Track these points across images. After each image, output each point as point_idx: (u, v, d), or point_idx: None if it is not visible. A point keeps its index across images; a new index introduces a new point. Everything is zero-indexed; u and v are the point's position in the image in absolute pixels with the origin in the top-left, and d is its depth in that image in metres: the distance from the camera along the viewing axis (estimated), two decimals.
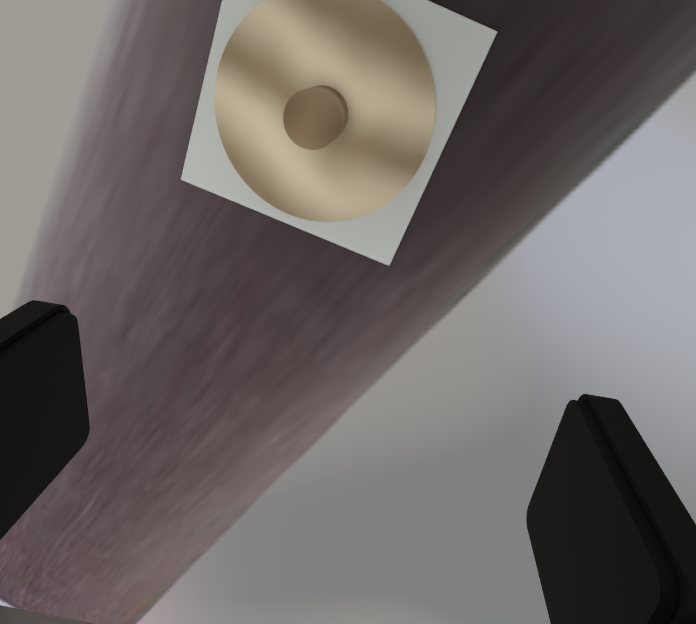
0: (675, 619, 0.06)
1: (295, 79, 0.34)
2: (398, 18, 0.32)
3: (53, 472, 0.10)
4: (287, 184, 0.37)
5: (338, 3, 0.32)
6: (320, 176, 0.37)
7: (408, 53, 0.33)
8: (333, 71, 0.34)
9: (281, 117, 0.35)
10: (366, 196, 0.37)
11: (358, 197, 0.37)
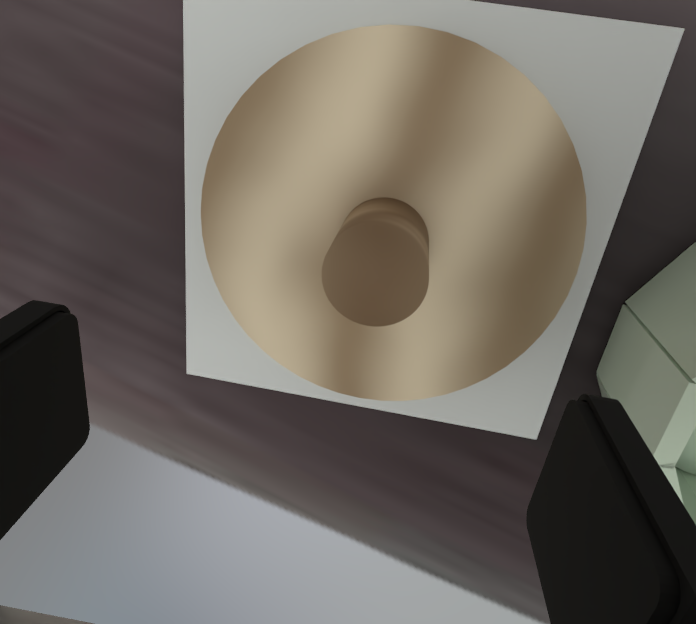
0: (675, 619, 0.06)
1: (428, 185, 0.19)
2: (543, 328, 0.21)
3: (53, 472, 0.10)
4: (251, 202, 0.20)
5: (556, 237, 0.19)
6: (283, 256, 0.21)
7: (496, 350, 0.22)
8: (454, 248, 0.20)
9: (360, 171, 0.19)
10: (276, 332, 0.23)
11: (270, 320, 0.23)
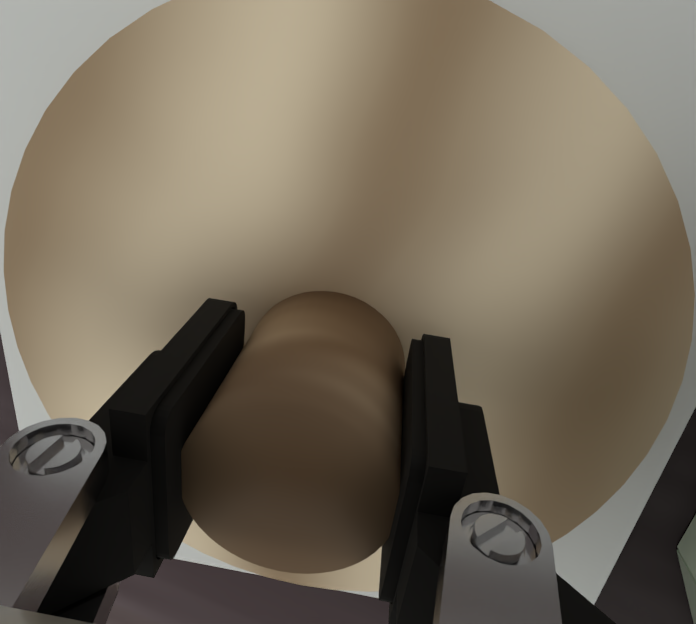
0: (421, 489, 0.07)
1: (402, 272, 0.10)
2: (601, 499, 0.12)
3: None
4: (91, 296, 0.12)
5: (634, 361, 0.11)
6: None
7: None
8: None
9: (277, 245, 0.11)
10: None
11: None
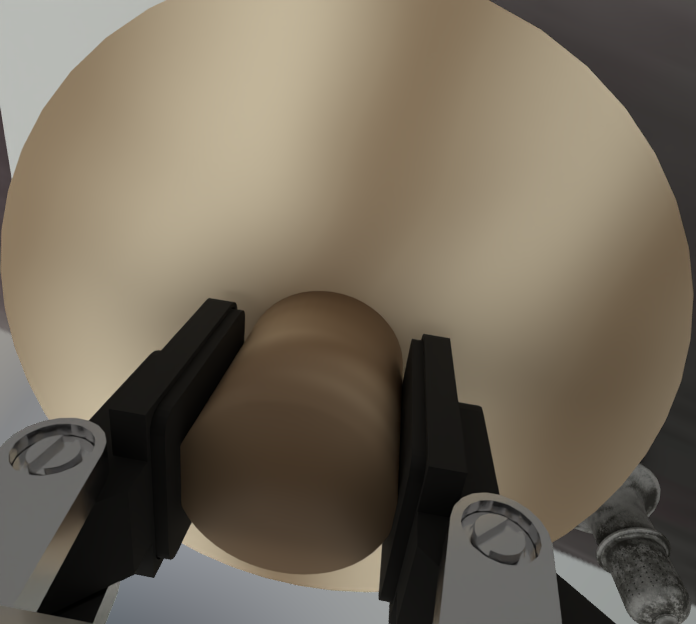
0: (421, 489, 0.07)
1: (400, 272, 0.10)
2: (600, 500, 0.12)
3: None
4: (88, 296, 0.12)
5: (633, 361, 0.11)
6: None
7: None
8: None
9: (275, 245, 0.11)
10: None
11: None
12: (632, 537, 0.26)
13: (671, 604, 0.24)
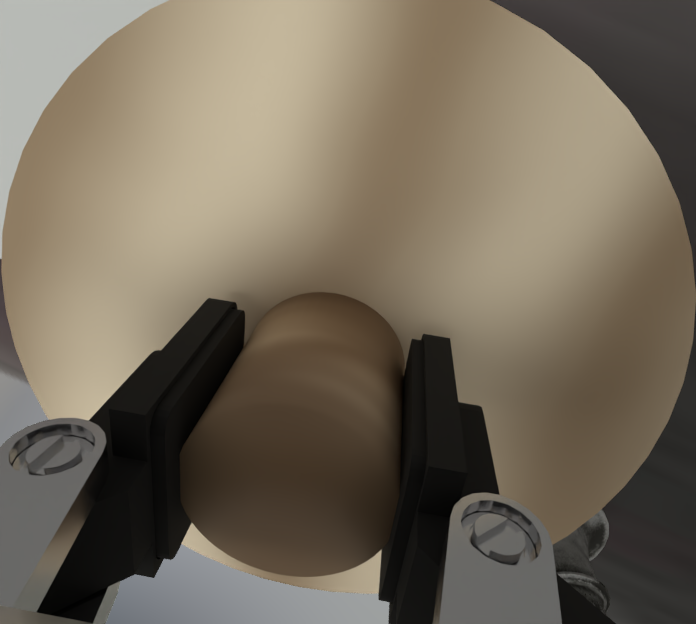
0: (420, 489, 0.07)
1: (402, 274, 0.10)
2: (602, 501, 0.12)
3: None
4: (89, 297, 0.12)
5: (635, 363, 0.11)
6: None
7: None
8: None
9: (276, 246, 0.11)
10: None
11: None
12: None
13: None
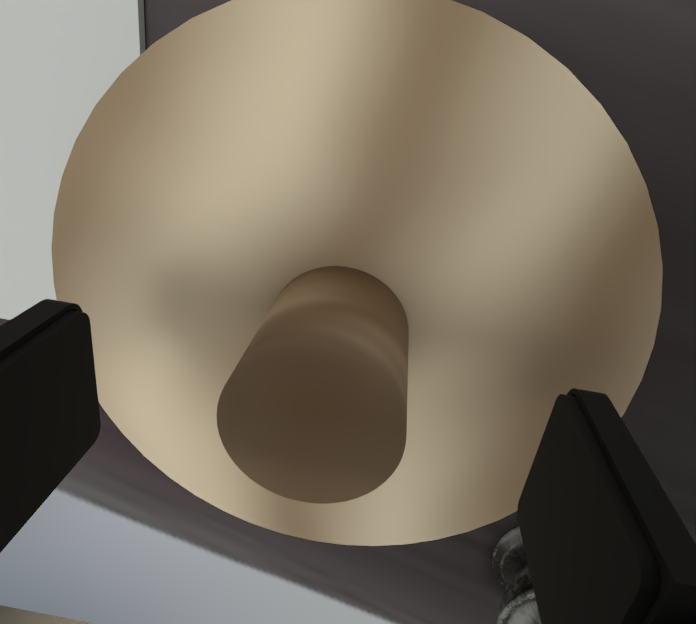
0: (656, 605, 0.06)
1: (407, 249, 0.12)
2: None
3: (65, 469, 0.10)
4: (129, 271, 0.13)
5: (611, 328, 0.12)
6: (186, 350, 0.14)
7: (513, 484, 0.14)
8: (448, 342, 0.13)
9: (296, 225, 0.12)
10: (186, 454, 0.15)
11: (176, 438, 0.15)
12: None
13: None
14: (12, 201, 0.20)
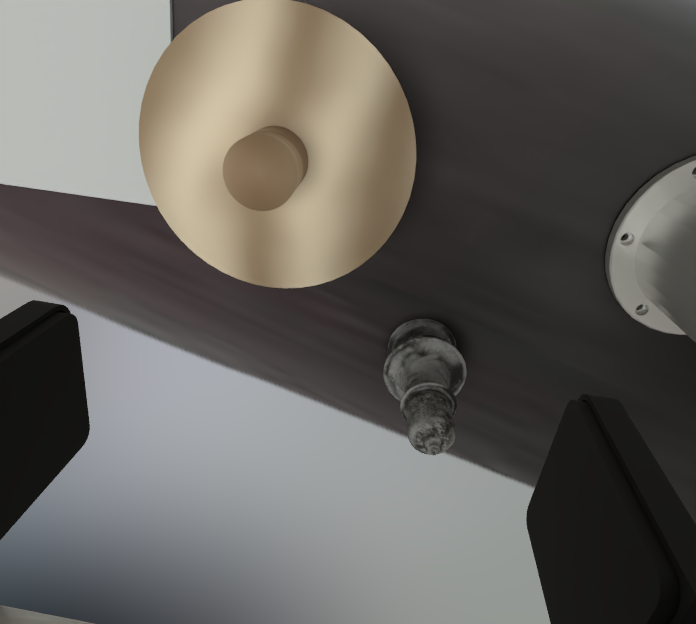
0: (675, 619, 0.06)
1: (303, 116, 0.27)
2: (396, 222, 0.29)
3: (53, 472, 0.10)
4: (176, 132, 0.28)
5: (396, 151, 0.27)
6: (203, 174, 0.29)
7: (365, 242, 0.30)
8: (326, 163, 0.28)
9: (254, 106, 0.27)
10: (202, 236, 0.30)
11: (197, 227, 0.30)
12: (423, 390, 0.33)
13: (435, 429, 0.30)
14: (93, 118, 0.34)
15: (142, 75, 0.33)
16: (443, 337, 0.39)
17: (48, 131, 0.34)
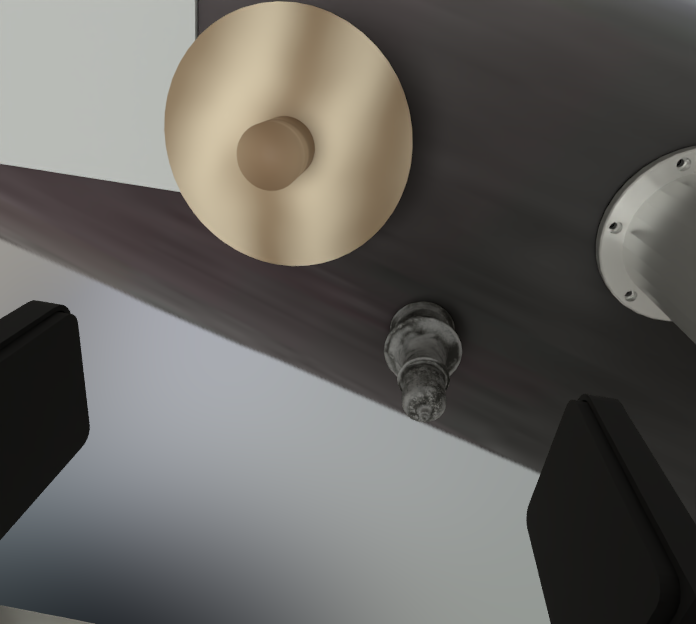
0: (675, 619, 0.06)
1: (311, 107, 0.30)
2: (394, 205, 0.32)
3: (53, 472, 0.10)
4: (197, 121, 0.31)
5: (394, 140, 0.30)
6: (220, 159, 0.32)
7: (366, 223, 0.32)
8: (331, 150, 0.31)
9: (267, 98, 0.30)
10: (219, 217, 0.33)
11: (214, 208, 0.33)
12: (418, 364, 0.35)
13: (427, 397, 0.32)
14: (124, 111, 0.37)
15: (169, 72, 0.36)
16: (442, 319, 0.41)
17: (84, 122, 0.38)
